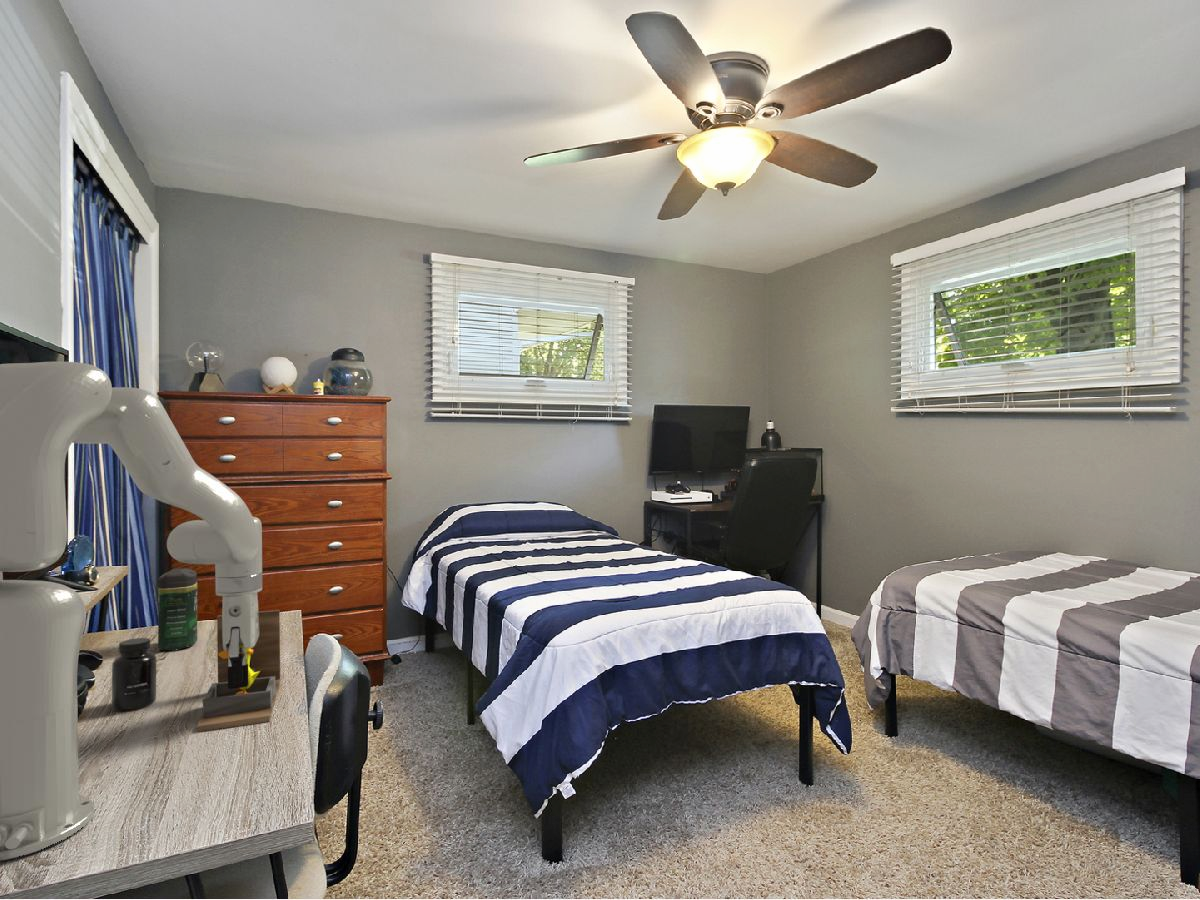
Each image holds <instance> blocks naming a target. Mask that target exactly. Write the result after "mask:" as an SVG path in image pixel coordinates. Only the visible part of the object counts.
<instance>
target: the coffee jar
mask: <svg viewBox="0 0 1200 900" xmlns="http://www.w3.org/2000/svg"><path fill="white" fill-rule="evenodd" d="M157 599H158V601H157V609H158V610H157V612H158V613H157V616H158V617H157V619H158V623H157V625H158V627H157V628H158V629H157V633H158V634H157V648H158V649H159V650H160V651H163V650H164V651H170V650H172V651H177V650H176V649H180V650H181V649H185V648H189V647H188V646H191V647H193V646H194V645H195V644H196V642H197V641H198V573H197V572H196V571H195V570H193V569H192V568H186V567H183V568H173V569H170V570H169V571H167V572H165V573H163V574H162V575H161V576H159V577H158V580H157ZM193 644H194V645H193ZM192 645H193V646H192Z"/></svg>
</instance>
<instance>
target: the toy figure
mask: <svg viewBox="0 0 1200 900" xmlns="http://www.w3.org/2000/svg"><path fill="white" fill-rule="evenodd" d="M243 647H244V644H243V645H239V648H243ZM228 651H229V650H228ZM228 651H222V652H220V653H219V654H218V653H217V656H218V655H219V656H220V657H222V658H223V659H228V658H229V652H228ZM240 653H241V654H242V652H240ZM240 653H239V654H240ZM251 654H253V649H250V648H249V647H247V658H246V664H248V686H247V687H242V688H240V689H242V692H238V693H236V694H244V693H247V692H246V689H248V688H249V687H250V686H251V684H252V683H253V681H254V680H255V678H256V677H257V675H258V674H259V672H260V671H258V672H253V671H252V670H251V668H250V667H249V663H250V656H251ZM236 694H235V695H236Z"/></svg>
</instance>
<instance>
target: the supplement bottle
mask: <svg viewBox="0 0 1200 900" xmlns="http://www.w3.org/2000/svg"><path fill="white" fill-rule="evenodd" d="M151 649H152V648H151V638H147V637H137V638H130V639H126V640H123V641H120V642H119V644H118V655H119V656H118V657H116V658H115V659H114V660H113V662H112V665H111V708H112V709H113V710H115V711H119V712H127V711H128V712H131V711H135V710H141V709H144V708H146V707H149V706H150V705H153V704H154V702H155V701H156V700H157V656H156V655H155V653H153V652H151V651H150V650H151Z"/></svg>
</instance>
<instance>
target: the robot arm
mask: <svg viewBox="0 0 1200 900" xmlns="http://www.w3.org/2000/svg"><path fill="white" fill-rule="evenodd" d="M112 386H113V385H112V381H111V379H110V378H109V375H108V374H107V373H106V372H105V371H104V370H102V369H101V368H99V367H97V366H95V365H93V364H89V363H84V362H81V361H80V362H78V361H43V362H42V361H41V362H21V363H20V362H19V363H17V362H16V363H15V362H14V363H1V364H0V861H6V860H7V861H8V860H10V859H15V858H19V856H20V857H23V855H24V856H27V855H30V854H33V853H36V852H38V851H42V850H44V848H45V849H47V848H49V847H51V846H50V845H51V844H54V845H56V844H58V843H60V842H62V841H64V840H66V839H68V838H70V837H71V836H73V835H74V833H75V834H76V833H78V832H79V831H80V830H82V829H83V828H84V827H85V826H86V825H88V824H89V822H90V821H91V820H92V818H93V817H94V816H95V815H94V814H95V804H94V801H93V800H91V799H90V798H88V797H84V796H81V795H80V791H79V790H80V789H79V788H80V787H79V785H80V783H79V728H78V727H79V726H78V725H79V723H78V721H79V719H78V715H79V714H78V668H79V667H78V666H79V655H80V650H81V645H82V644H81V643H82V640H83V636H84V632H85V627H86V620H87V608H86V604H85V602H84V599H83V598H82V597H81V596H80V594H79V593H78V592H77V591H75V590H74V589H73V588H71V587H69V586H66V585H65V584H62V583H59V582H53V581H46V580H25V579H24V580H23V579H4V576H3V575H4V574H3V573H4V572H5V573H6V572H8V573H12V572H13V573H17V572H32V571H37V570H42V569H45V568H48V567H49V566H51V565H53V564H55V563H56V562H57V561H59V559H60V558H61V557H62V555H63V554H64V553H65V550H66V547H67V542H68V541H67V540H68V524H67V522H68V520H67V499H66V484H65V483H66V481H65V471H66V470H65V466H66V465H65V464H66V458H67V454H68V451H69V449H70V447H71V446H72V444H81V445H84V444H85V445H86V444H87V445H88V444H91V445H95V444H97V445H100V444H101V445H102V444H103V445H104V444H106V445H109V446H110V447H111V448H112V450H113V451H114V454H115V455H116V456H117V457H118V459H119V461H120V462H121V463H122V466H124V467H125V469H126V471H127V473H128V475H129V476H130V478H131V479H132V481H133V483H134V484H135V486H136V488H138V490H139V491H140V492H141V493H143V494H145V495H146V496H147V497H150V498H153V499H155V500H157V501H160V502H161V503H164V504H167V505H171V506H173V507H176V508H179V509H182V510H185V511H187V512H189V513H191V514H193V515H195V516H196V517H198V518H200V519H201V520H199V519H198V520H197V519H196V520H190V521H189V520H188V521H185V522H183V523H180V524H179V525H177V526H176V527H174V528H173V529H172V530H171V532H170V533H169V535H168V537H167V540H166V549H167V551H168V553H169V555H170V556H171V557H172V558H173V559H174V560H176V561H178V562H180V563H183V564H188V565H215V568H214V569H215V576H214V577H215V595H216V596H218V597H222V607H221V608H222V610H221V615H222V639H223V649H224V650H225V651H228V650H229V651H228V652H229V658H228V688H229V689H234V688H242V687H247V686H248V664H246V658H247V647H249V648H250V649H252V648H253V647H254V646H255V644H256V642H257V640H258V637H259V615H258V612H259V600H258V598H259V597H258V593H259V592H261V591H262V590H263V536H262V535H263V533H262V531H263V530H262V529H263V526H262V525H263V524H262V521H261V520H260V518H258V517H256V516H253V515H252V512H251V511H250V510H249V507H248V506H247V503H245V502H244V500H243V499H242V498H241V496H239V495H238V494H237V493H236V492H235V491H234V490H233V489H231V487H229V486H228V485H226V484H225V483H224V482H223V481H221V480H219V479H218V478H217V477H216V476H214V475H212V474H211V473H209V472H208V471H206V470H205V469H203V468H202V467H200V466H199V465H198V464H197V463H196V462H195V460H194V459H193V457H192V454H191V453H190V451H189V450H188V449H189V448H187V446H186V444H185V442H184V441H183V439H182V438H181V436H180V434H179V432H178V430H177V428H176V427H175V425H174V423H173V422H172V420H171V418H170V417H169V414H168V412H167V410H166V409H165V407H164V405H163V404H162V402H161V401H160V400H159V399H158V397H157V396H156V394H154V393H152V392H150V391H148V390H146V389H142V388H137V387H127V386H126V387H123V386H122V387H115V386H114V387H112ZM243 644H244V647H243V648H239V645H243ZM240 652H242V654H241V653H240ZM239 653H240V654H239ZM249 667H250V668H251V670H252V657H250V663H249ZM82 827H83V828H82ZM81 828H82V829H81ZM78 830H79V831H78ZM77 831H78V832H77ZM69 836H70V837H69ZM67 837H68V838H67ZM61 840H62V841H61ZM59 841H60V842H59ZM57 842H58V843H57ZM55 843H56V844H55ZM48 846H49V847H48ZM46 847H47V848H46ZM41 849H42V850H41Z"/></svg>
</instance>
